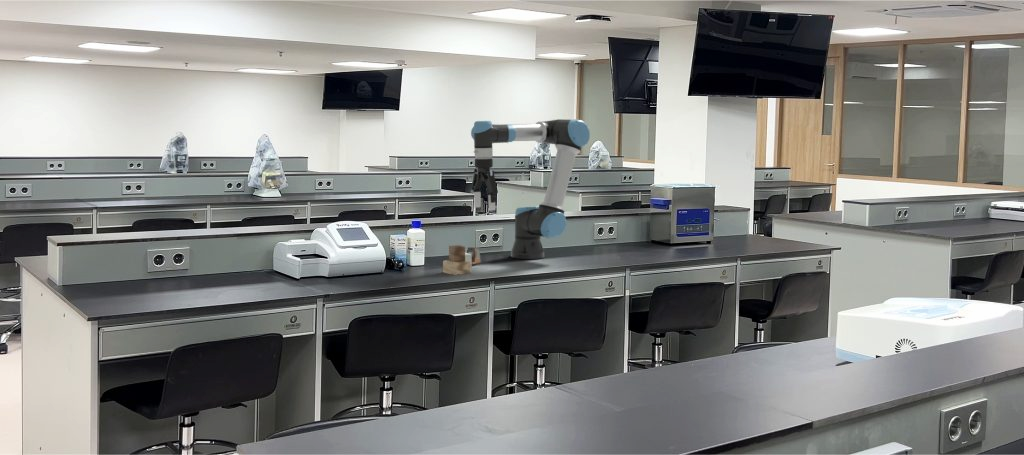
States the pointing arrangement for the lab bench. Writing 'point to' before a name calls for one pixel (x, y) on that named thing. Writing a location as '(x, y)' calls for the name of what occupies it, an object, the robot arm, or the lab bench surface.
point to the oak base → (456, 267)
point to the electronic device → (474, 255)
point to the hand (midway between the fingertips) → (484, 208)
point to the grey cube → (468, 258)
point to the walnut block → (457, 253)
